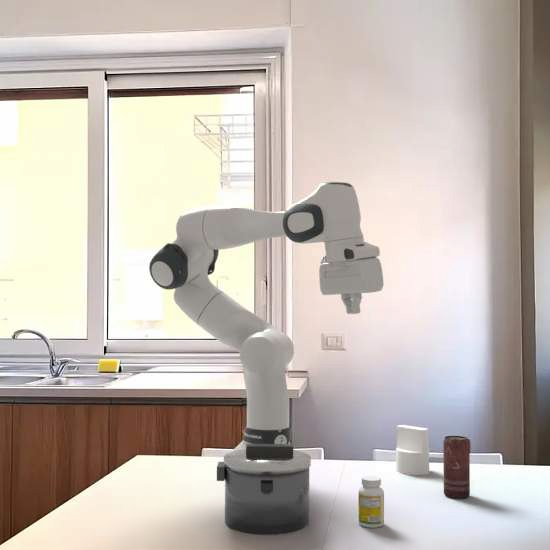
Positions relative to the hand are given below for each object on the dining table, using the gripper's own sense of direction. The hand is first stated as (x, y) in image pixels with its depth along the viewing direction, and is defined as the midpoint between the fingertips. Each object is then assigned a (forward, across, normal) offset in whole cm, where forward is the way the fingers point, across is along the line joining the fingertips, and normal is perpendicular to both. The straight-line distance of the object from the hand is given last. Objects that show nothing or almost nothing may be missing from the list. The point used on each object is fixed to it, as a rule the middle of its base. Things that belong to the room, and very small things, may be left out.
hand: (353, 313), depth 160 cm
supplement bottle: (+44, +8, -8) cm, 45 cm away
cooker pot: (+41, -4, -26) cm, 48 cm away
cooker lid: (+29, -4, -24) cm, 38 cm away
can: (+48, 0, +23) cm, 53 cm away
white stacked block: (+48, -25, +30) cm, 62 cm away
